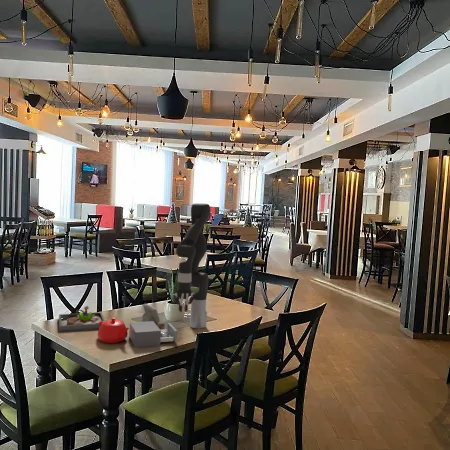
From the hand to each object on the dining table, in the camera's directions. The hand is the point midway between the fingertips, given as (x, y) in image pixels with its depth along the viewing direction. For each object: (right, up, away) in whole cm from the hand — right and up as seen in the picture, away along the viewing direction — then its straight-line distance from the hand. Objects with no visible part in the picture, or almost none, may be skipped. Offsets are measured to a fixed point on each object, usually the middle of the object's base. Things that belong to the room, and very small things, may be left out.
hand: (183, 311), depth 232 cm
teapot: (-36, -14, -9) cm, 40 cm away
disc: (-10, -13, -3) cm, 17 cm away
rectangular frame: (-62, -11, +18) cm, 66 cm away
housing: (-20, -14, -7) cm, 26 cm away
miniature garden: (-61, -12, +19) cm, 65 cm away
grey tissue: (-22, -13, +27) cm, 37 cm away
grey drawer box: (-11, -14, -4) cm, 18 cm away
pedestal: (-14, -14, +10) cm, 22 cm away
